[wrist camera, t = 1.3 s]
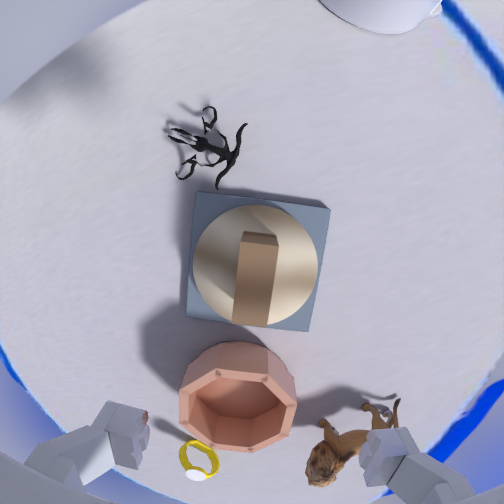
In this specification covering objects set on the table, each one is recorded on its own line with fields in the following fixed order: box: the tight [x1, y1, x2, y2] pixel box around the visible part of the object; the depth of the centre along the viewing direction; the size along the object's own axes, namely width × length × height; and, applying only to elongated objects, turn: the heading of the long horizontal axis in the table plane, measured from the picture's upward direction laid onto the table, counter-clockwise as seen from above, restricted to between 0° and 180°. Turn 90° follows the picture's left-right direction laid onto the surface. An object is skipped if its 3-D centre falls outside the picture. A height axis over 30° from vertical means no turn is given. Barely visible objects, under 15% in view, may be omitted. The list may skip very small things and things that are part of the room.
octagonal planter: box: [179, 341, 297, 453], centre depth 33 cm, size 12×12×6 cm
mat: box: [186, 192, 331, 332], centre depth 32 cm, size 13×13×1 cm
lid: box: [193, 205, 318, 328], centre depth 28 cm, size 12×12×6 cm
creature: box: [168, 106, 248, 190], centre depth 28 cm, size 8×5×8 cm
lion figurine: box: [305, 398, 401, 487], centre depth 33 cm, size 15×5×9 cm, turn 120°
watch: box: [179, 440, 220, 481], centre depth 36 cm, size 6×3×6 cm, turn 47°
